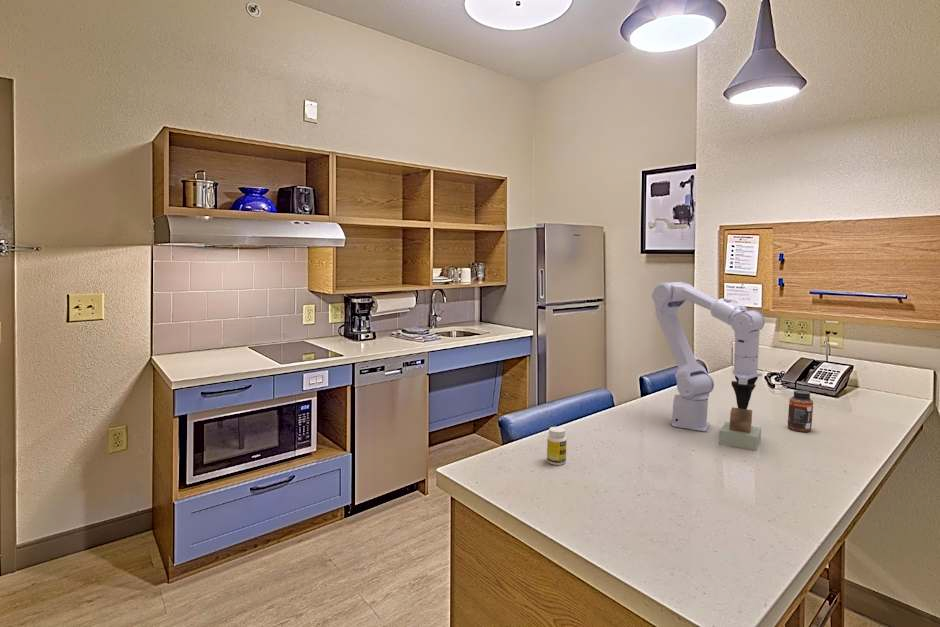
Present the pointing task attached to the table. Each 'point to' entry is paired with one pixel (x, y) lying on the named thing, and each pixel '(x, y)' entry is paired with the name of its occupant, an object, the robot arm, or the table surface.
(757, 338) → the robot arm
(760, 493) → the table surface
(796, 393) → the supplement bottle
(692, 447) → the table surface
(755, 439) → the sage block
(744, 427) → the walnut cube
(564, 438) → the supplement bottle
